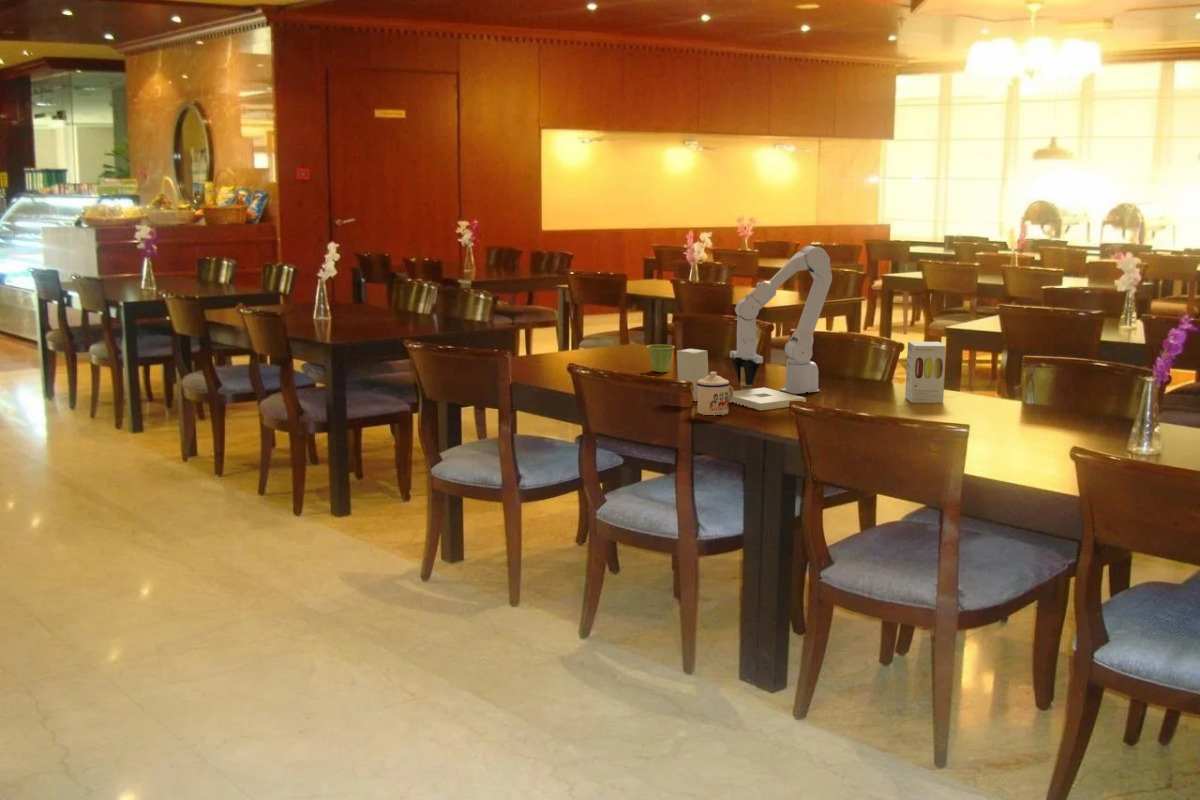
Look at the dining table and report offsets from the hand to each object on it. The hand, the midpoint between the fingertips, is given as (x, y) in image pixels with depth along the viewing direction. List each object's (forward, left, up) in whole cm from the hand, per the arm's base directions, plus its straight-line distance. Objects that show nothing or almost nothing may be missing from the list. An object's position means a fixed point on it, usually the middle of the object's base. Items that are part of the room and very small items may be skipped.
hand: (745, 383), depth 366 cm
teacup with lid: (+24, +20, -3) cm, 31 cm away
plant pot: (+1, -48, -3) cm, 48 cm away
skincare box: (+19, 0, -3) cm, 19 cm away
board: (+4, +14, -3) cm, 15 cm away
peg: (0, 0, -3) cm, 3 cm away
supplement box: (-37, +37, -3) cm, 52 cm away
